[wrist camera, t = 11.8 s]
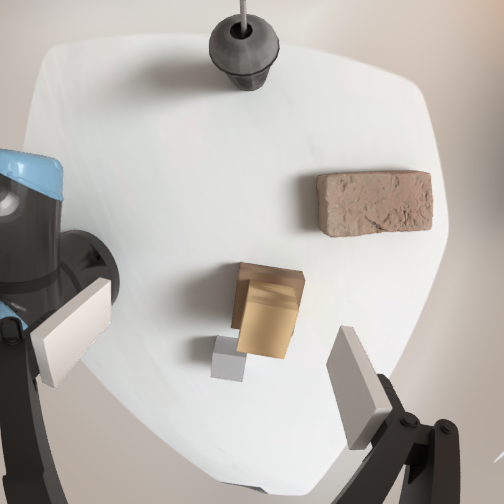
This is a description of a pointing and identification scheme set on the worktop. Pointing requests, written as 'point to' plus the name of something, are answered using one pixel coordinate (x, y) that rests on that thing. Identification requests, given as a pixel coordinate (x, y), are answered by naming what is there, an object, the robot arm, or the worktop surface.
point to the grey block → (227, 360)
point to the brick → (374, 202)
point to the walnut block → (264, 275)
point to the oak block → (267, 319)
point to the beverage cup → (244, 48)
